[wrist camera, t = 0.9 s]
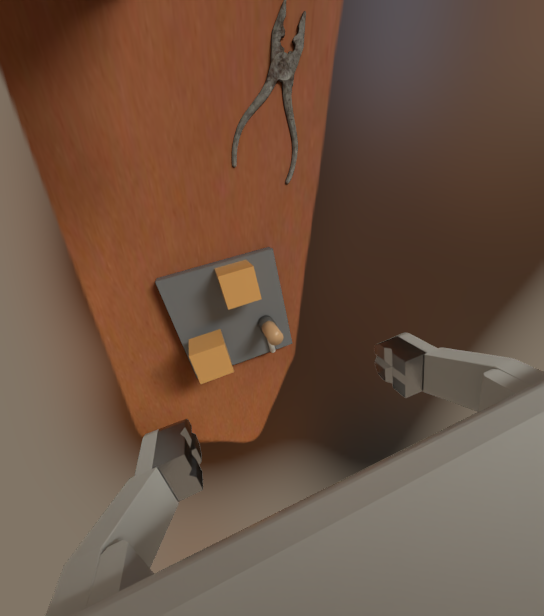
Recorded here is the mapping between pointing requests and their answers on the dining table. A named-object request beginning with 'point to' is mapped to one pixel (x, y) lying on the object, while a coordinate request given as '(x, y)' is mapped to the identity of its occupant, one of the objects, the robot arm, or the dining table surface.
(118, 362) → the dining table surface
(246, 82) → the dining table surface
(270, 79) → the pliers
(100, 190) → the dining table surface
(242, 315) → the board
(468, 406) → the robot arm
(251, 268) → the tan wooden toy brick
